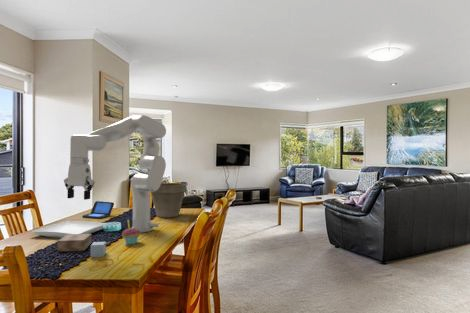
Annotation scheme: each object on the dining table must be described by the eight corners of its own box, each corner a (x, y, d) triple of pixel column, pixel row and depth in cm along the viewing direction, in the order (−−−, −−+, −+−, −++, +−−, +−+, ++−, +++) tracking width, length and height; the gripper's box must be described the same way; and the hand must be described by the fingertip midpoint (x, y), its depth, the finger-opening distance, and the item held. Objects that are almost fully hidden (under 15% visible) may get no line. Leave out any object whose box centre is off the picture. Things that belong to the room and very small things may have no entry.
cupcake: (130, 246, 152) (130, 220, 152) (117, 243, 156) (117, 218, 156) (144, 242, 159) (144, 217, 159) (132, 239, 164) (132, 215, 163)
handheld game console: (81, 218, 216) (81, 203, 216) (95, 214, 229) (95, 201, 229) (101, 219, 211) (101, 205, 211) (114, 215, 224) (114, 202, 224)
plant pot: (157, 211, 238) (157, 181, 238) (190, 212, 235) (190, 182, 235) (143, 218, 214) (143, 185, 213) (179, 220, 210) (179, 186, 210)
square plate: (77, 241, 161) (77, 233, 161) (30, 238, 166) (30, 230, 166) (109, 228, 187) (109, 222, 187) (67, 226, 193) (67, 219, 193)
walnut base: (91, 244, 156) (91, 233, 156) (84, 251, 145) (84, 240, 145) (67, 245, 155) (67, 234, 154) (57, 252, 144) (57, 240, 144)
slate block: (105, 253, 142) (105, 241, 142) (103, 256, 137) (103, 244, 137) (93, 253, 141) (93, 242, 141) (90, 257, 136) (90, 245, 136)
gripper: (100, 161, 152) (99, 198, 152) (71, 161, 158) (71, 196, 158) (87, 162, 145) (87, 200, 145) (58, 161, 151) (57, 198, 151)
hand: (78, 198), depth 152 cm, fingers open, 9 cm apart
